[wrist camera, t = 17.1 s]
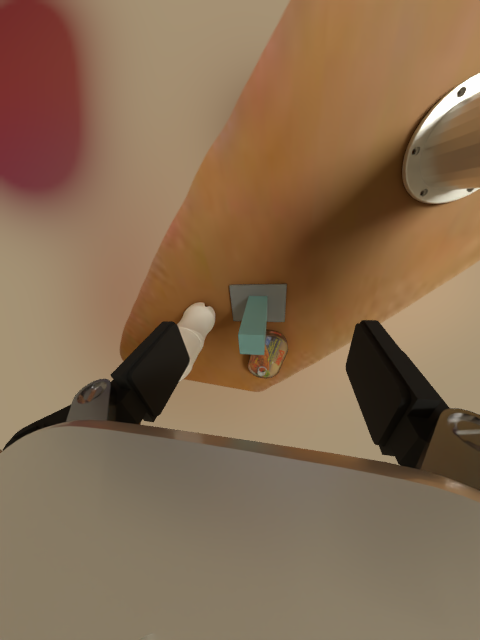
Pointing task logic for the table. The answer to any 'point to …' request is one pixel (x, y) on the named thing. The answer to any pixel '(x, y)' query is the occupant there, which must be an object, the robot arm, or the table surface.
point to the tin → (269, 356)
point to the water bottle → (195, 330)
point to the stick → (253, 326)
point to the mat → (272, 291)
